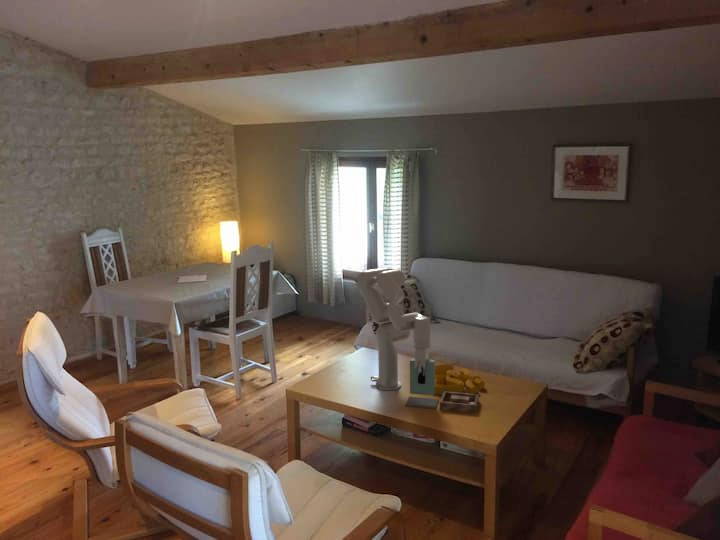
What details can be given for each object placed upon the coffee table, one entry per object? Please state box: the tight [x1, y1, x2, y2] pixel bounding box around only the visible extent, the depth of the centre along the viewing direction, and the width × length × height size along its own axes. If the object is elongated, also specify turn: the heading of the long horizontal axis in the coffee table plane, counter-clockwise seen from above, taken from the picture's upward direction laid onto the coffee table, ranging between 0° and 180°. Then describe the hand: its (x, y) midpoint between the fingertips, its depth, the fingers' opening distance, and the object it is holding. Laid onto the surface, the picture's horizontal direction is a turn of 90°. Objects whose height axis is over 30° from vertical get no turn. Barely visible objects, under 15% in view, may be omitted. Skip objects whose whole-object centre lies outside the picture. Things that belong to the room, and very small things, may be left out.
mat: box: [404, 395, 440, 410], centre depth 282 cm, size 14×10×1 cm
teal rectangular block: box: [409, 358, 436, 397], centre depth 279 cm, size 11×3×16 cm, turn 74°
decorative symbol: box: [434, 364, 486, 396], centre depth 304 cm, size 30×5×30 cm
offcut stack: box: [449, 395, 474, 404], centre depth 276 cm, size 11×4×5 cm, turn 74°
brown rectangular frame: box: [439, 391, 479, 414], centre depth 278 cm, size 16×13×4 cm
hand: (422, 381), depth 280 cm, fingers closed on teal rectangular block, 3 cm apart
